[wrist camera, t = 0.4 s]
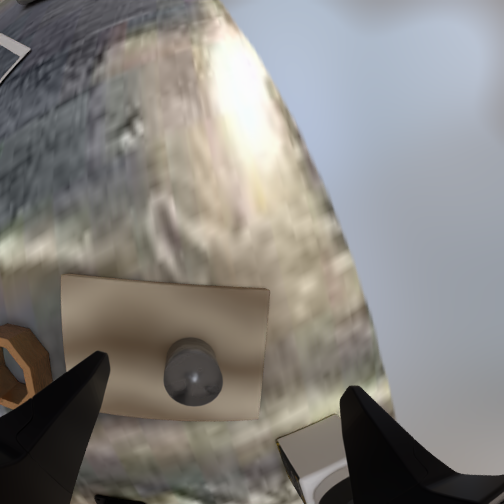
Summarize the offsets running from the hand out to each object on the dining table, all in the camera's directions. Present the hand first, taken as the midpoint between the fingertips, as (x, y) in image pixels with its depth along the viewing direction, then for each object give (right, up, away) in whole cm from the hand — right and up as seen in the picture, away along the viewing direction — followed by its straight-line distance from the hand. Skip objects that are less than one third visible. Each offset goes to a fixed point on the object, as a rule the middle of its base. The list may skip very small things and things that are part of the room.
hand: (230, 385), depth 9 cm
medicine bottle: (+7, -17, +16) cm, 25 cm away
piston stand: (-7, -4, +13) cm, 15 cm away
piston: (-4, -4, +12) cm, 13 cm away
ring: (-21, -6, +9) cm, 24 cm away
